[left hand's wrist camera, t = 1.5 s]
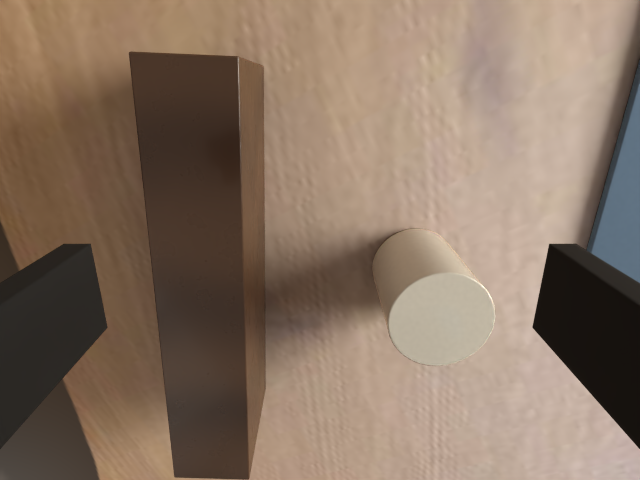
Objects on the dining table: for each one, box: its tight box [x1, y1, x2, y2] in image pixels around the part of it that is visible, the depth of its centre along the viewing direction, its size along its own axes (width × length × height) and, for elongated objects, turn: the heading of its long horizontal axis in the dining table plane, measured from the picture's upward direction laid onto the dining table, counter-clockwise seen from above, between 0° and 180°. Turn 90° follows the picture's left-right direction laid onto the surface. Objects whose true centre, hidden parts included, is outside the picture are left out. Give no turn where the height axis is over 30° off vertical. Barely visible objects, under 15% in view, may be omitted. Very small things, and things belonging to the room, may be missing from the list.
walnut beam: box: [129, 52, 266, 480], centre depth 28 cm, size 26×5×9 cm, turn 178°
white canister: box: [372, 229, 495, 366], centre depth 29 cm, size 6×6×8 cm
